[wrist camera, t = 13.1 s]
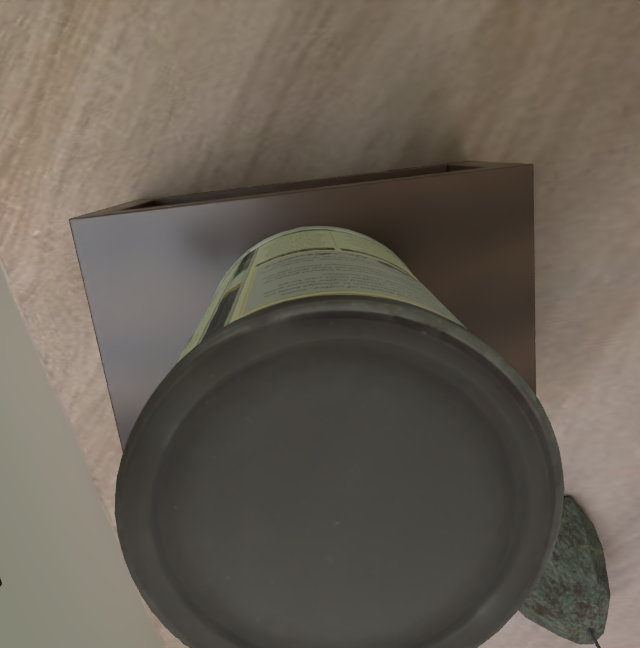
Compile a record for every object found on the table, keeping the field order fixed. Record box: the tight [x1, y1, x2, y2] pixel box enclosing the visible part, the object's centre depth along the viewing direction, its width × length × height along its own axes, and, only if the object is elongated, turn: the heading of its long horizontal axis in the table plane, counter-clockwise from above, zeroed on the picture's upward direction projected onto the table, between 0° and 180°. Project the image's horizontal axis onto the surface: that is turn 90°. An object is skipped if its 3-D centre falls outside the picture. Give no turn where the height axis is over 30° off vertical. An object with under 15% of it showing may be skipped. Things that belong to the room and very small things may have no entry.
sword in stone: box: [519, 497, 610, 648], centre depth 37 cm, size 10×8×12 cm
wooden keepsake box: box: [69, 161, 536, 452], centre depth 31 cm, size 14×20×12 cm
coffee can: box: [115, 226, 564, 648], centre depth 20 cm, size 10×10×14 cm
